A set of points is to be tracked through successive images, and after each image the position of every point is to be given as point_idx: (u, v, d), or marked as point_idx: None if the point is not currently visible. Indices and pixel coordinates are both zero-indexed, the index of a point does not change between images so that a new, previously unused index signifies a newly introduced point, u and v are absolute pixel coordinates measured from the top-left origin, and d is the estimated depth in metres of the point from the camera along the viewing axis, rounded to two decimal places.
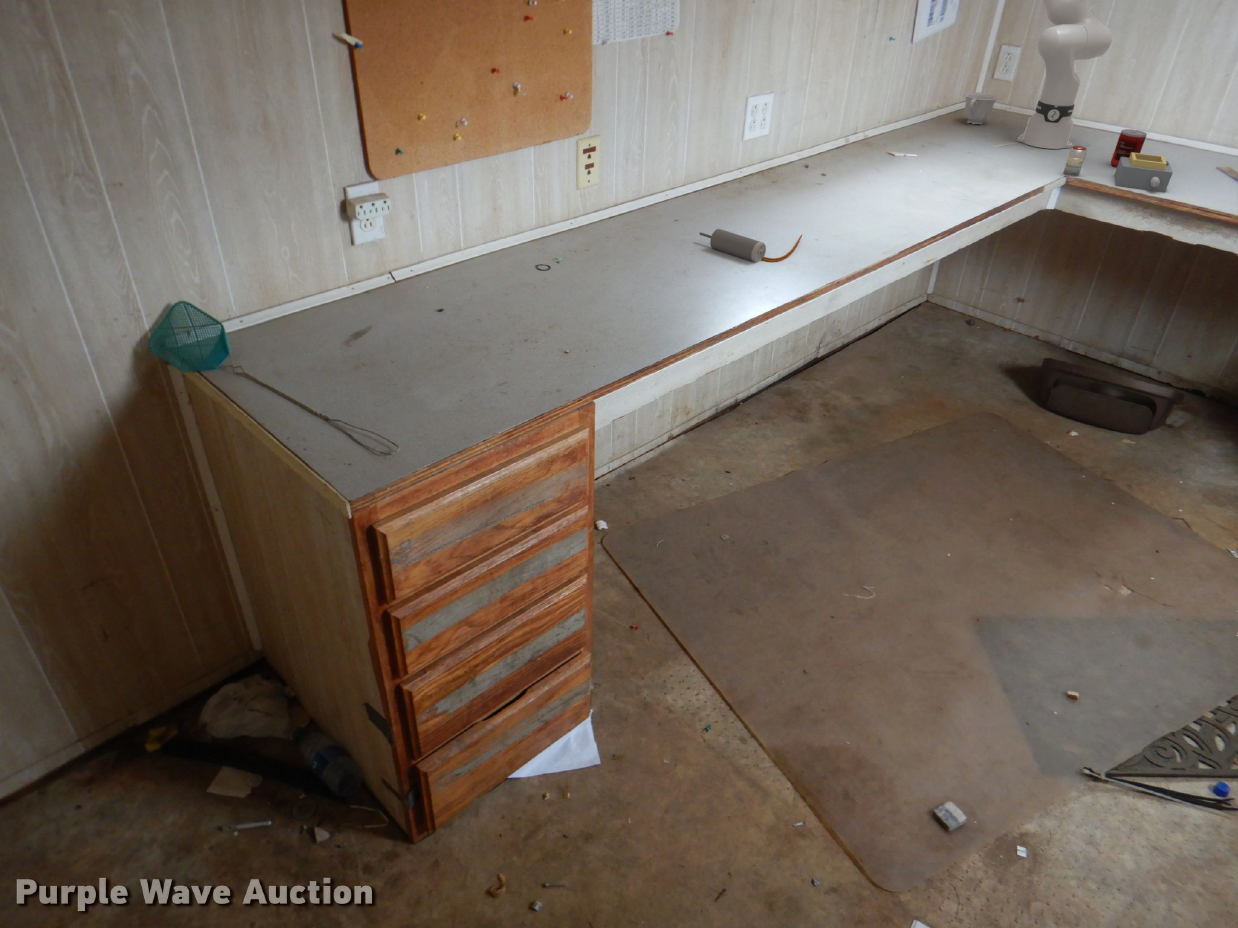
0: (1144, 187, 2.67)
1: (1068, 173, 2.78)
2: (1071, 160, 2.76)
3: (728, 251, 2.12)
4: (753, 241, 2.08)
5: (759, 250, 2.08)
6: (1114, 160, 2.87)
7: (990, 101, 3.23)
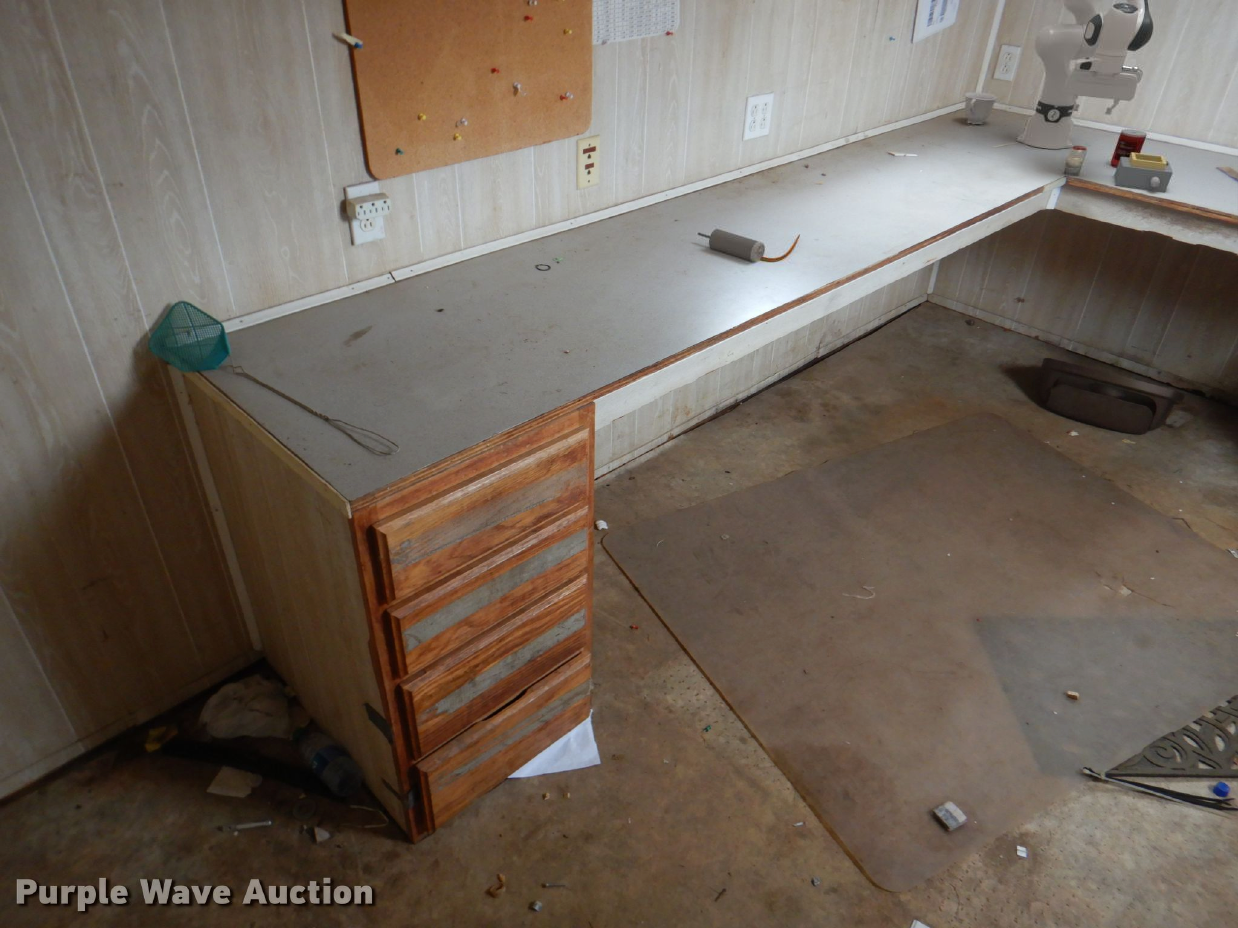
0: (1144, 187, 2.67)
1: (1068, 173, 2.78)
2: (1071, 160, 2.76)
3: (726, 252, 2.12)
4: (752, 241, 2.08)
5: (758, 250, 2.08)
6: (1114, 160, 2.87)
7: (990, 101, 3.23)
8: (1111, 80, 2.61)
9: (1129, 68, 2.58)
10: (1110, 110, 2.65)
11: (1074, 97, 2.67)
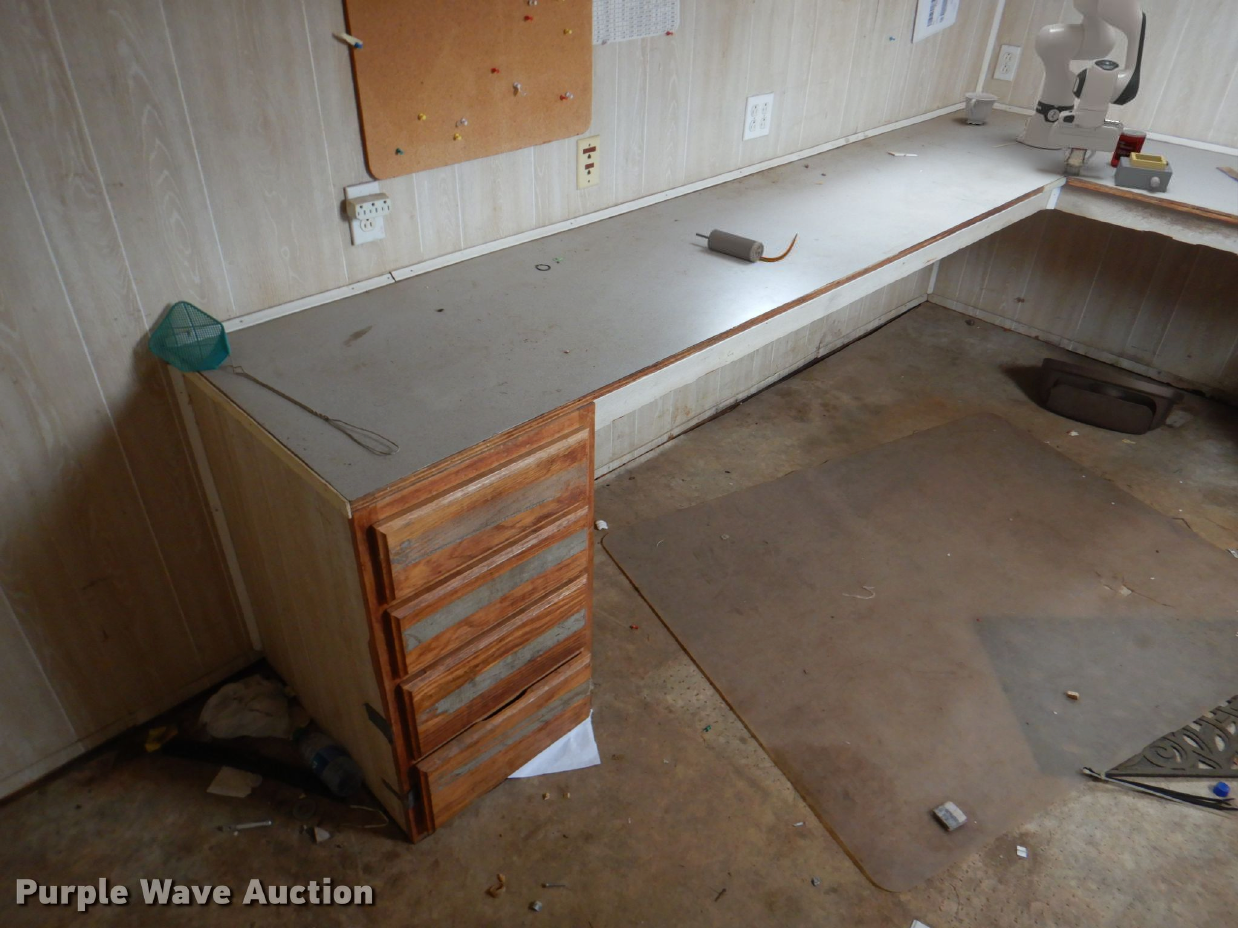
0: (1144, 187, 2.67)
1: (1068, 173, 2.78)
2: (1071, 160, 2.76)
3: (725, 252, 2.12)
4: (751, 241, 2.08)
5: (757, 250, 2.08)
6: (1114, 160, 2.87)
7: (990, 101, 3.23)
8: (1093, 132, 2.70)
9: (1111, 121, 2.67)
10: (1087, 160, 2.75)
11: (1063, 148, 2.76)
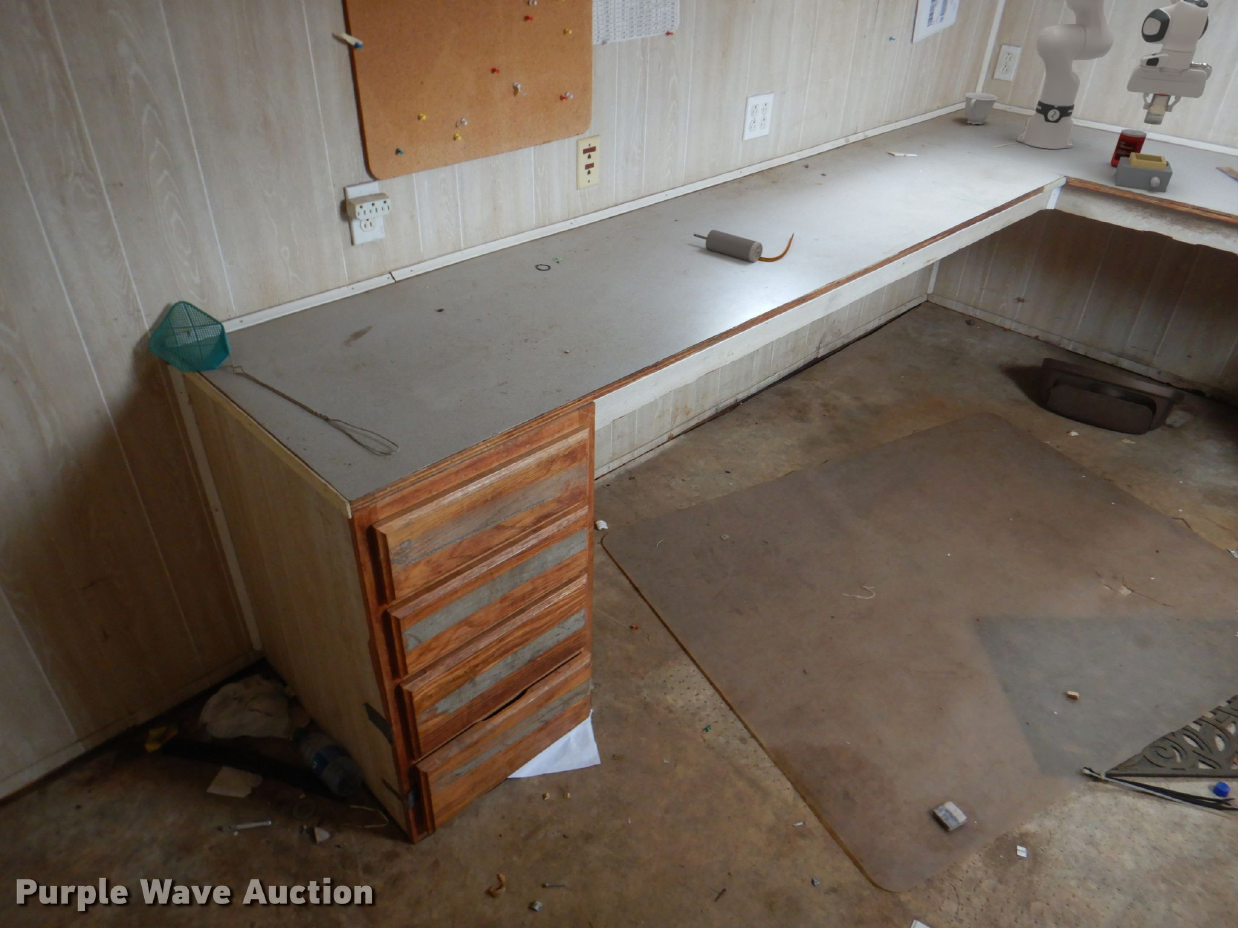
0: (1144, 187, 2.67)
1: (1149, 122, 2.61)
2: (1153, 107, 2.59)
3: (724, 252, 2.12)
4: (750, 241, 2.08)
5: (756, 250, 2.08)
6: (1114, 160, 2.87)
7: (990, 101, 3.23)
8: (1179, 77, 2.53)
9: (1198, 64, 2.50)
10: (1171, 107, 2.58)
11: (1145, 95, 2.59)
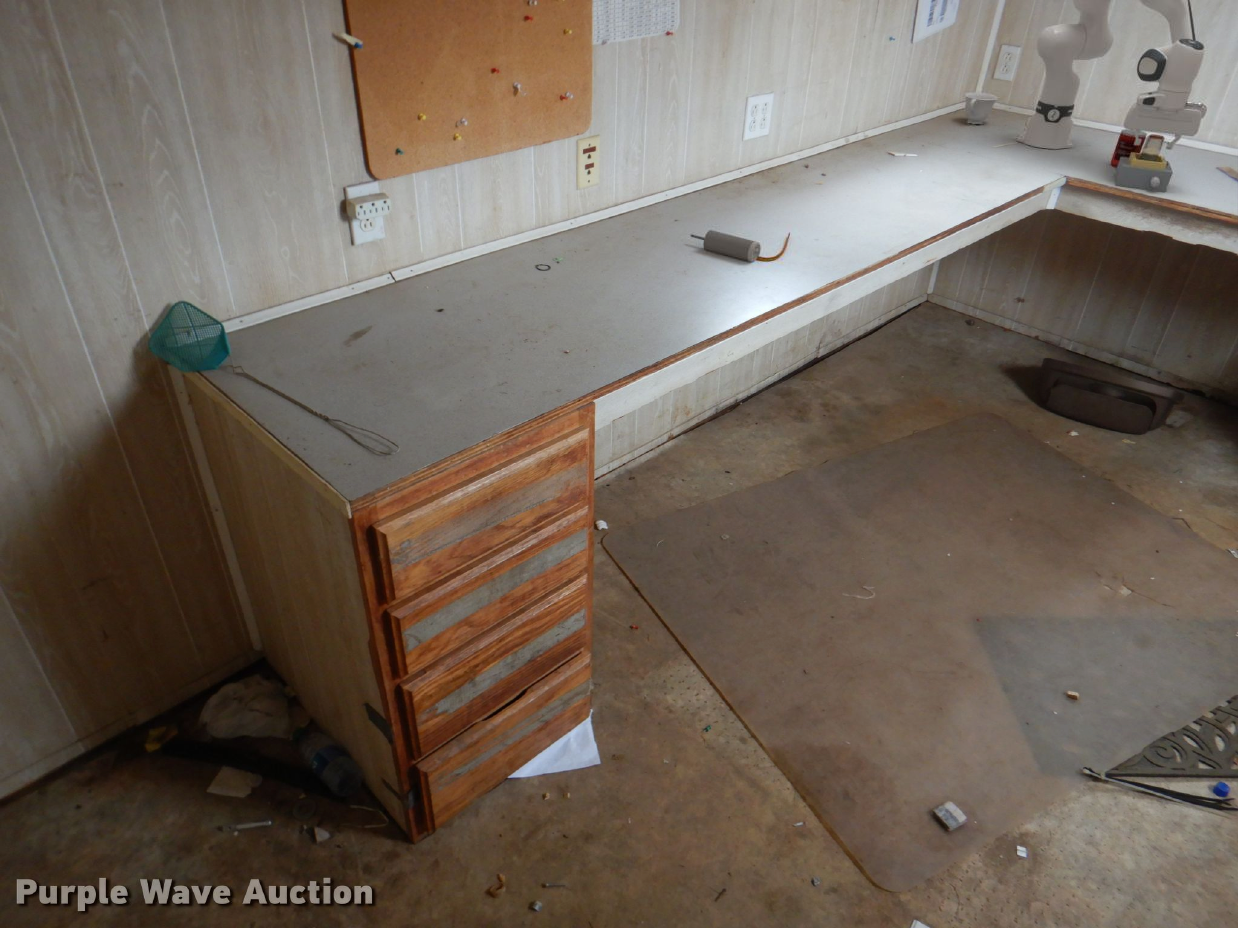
0: (1144, 187, 2.67)
1: None
2: (1147, 149, 2.65)
3: (722, 252, 2.12)
4: (748, 241, 2.08)
5: (755, 250, 2.08)
6: (1114, 160, 2.87)
7: (990, 101, 3.23)
8: (1174, 115, 2.58)
9: (1193, 104, 2.56)
10: (1171, 145, 2.63)
11: (1136, 132, 2.65)
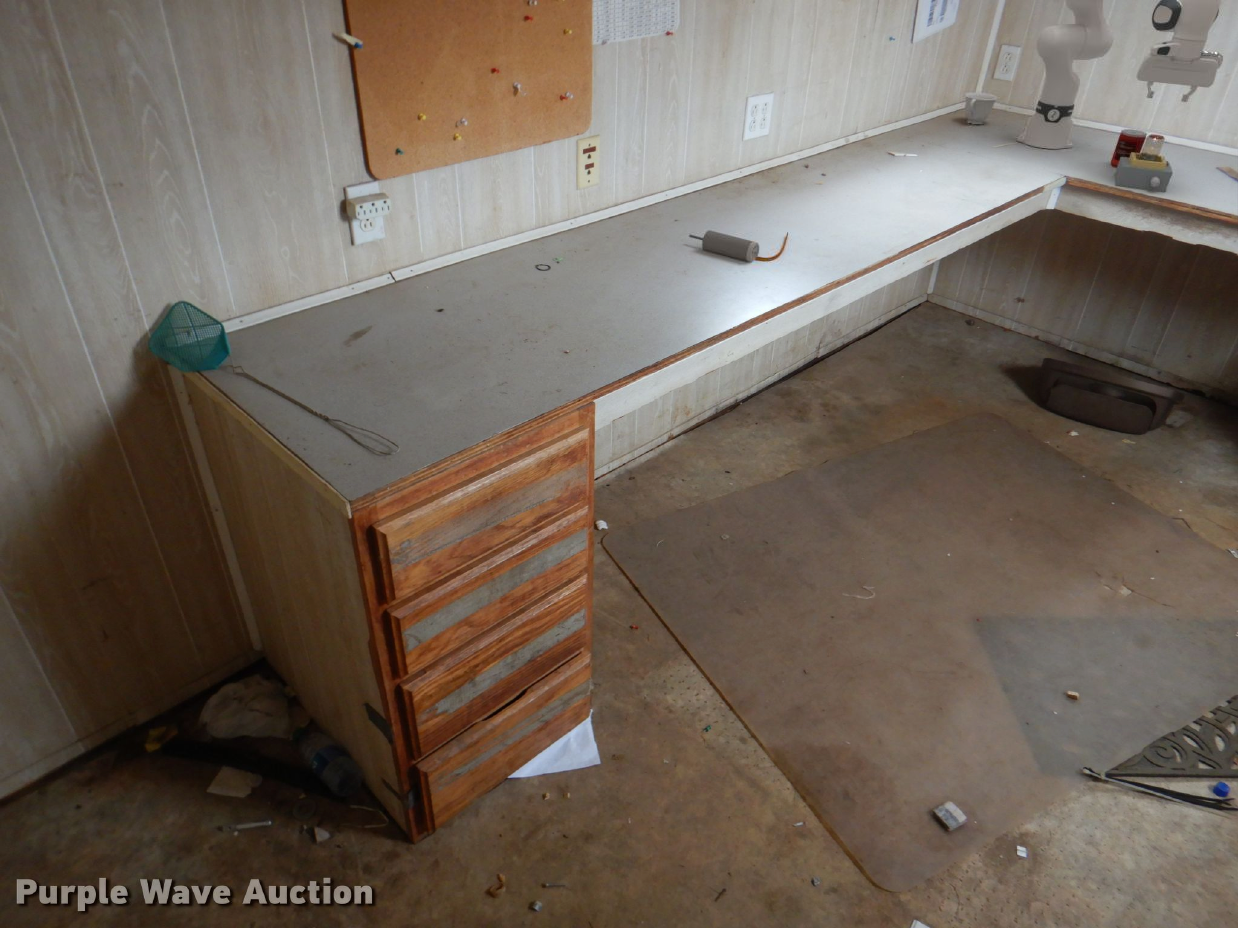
0: (1144, 187, 2.67)
1: None
2: (1147, 149, 2.65)
3: (721, 253, 2.12)
4: (747, 241, 2.08)
5: (753, 250, 2.08)
6: (1114, 160, 2.87)
7: (990, 101, 3.23)
8: (1189, 66, 2.51)
9: (1209, 53, 2.48)
10: (1187, 97, 2.56)
11: (1149, 83, 2.57)
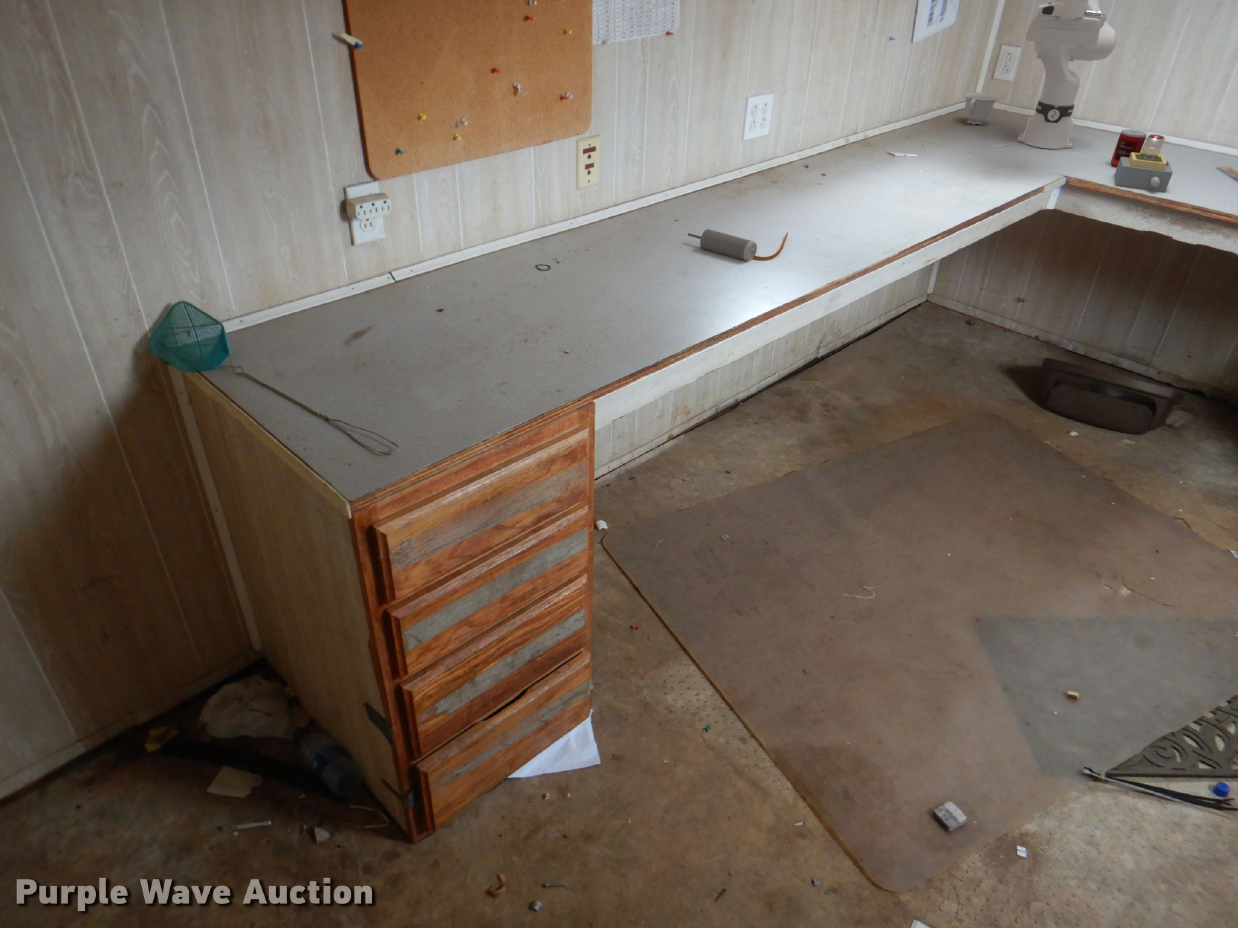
0: (1144, 187, 2.67)
1: None
2: (1147, 149, 2.65)
3: (718, 251, 2.12)
4: (744, 240, 2.08)
5: (751, 249, 2.08)
6: (1114, 160, 2.87)
7: (990, 101, 3.23)
8: (1074, 25, 2.56)
9: (1092, 12, 2.53)
10: (1073, 57, 2.60)
11: (1037, 44, 2.62)
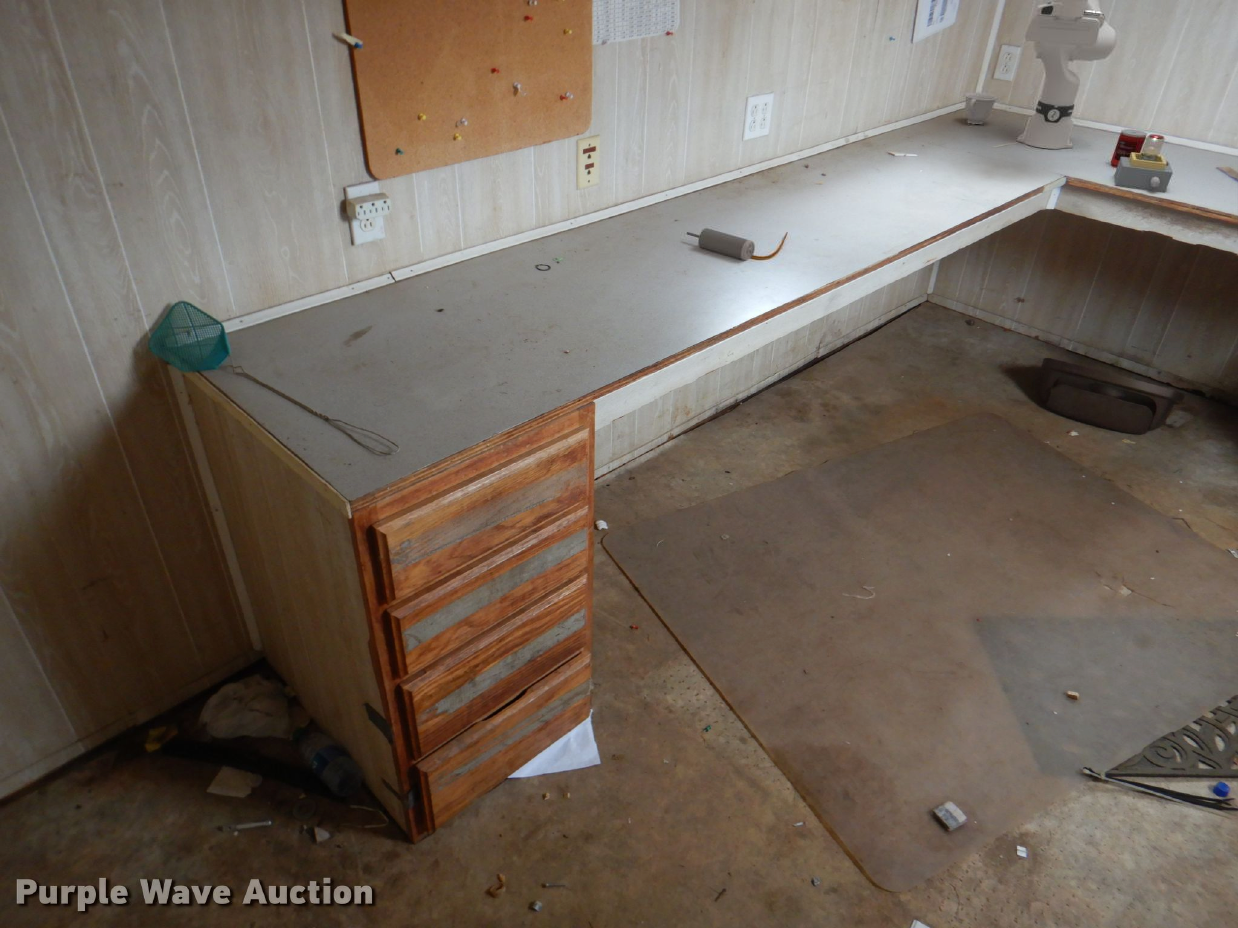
0: (1144, 187, 2.67)
1: None
2: (1147, 149, 2.65)
3: (716, 251, 2.13)
4: (742, 240, 2.09)
5: (748, 248, 2.09)
6: (1114, 160, 2.87)
7: (990, 101, 3.23)
8: (1073, 25, 2.56)
9: (1091, 12, 2.53)
10: (1073, 57, 2.61)
11: (1036, 44, 2.62)
